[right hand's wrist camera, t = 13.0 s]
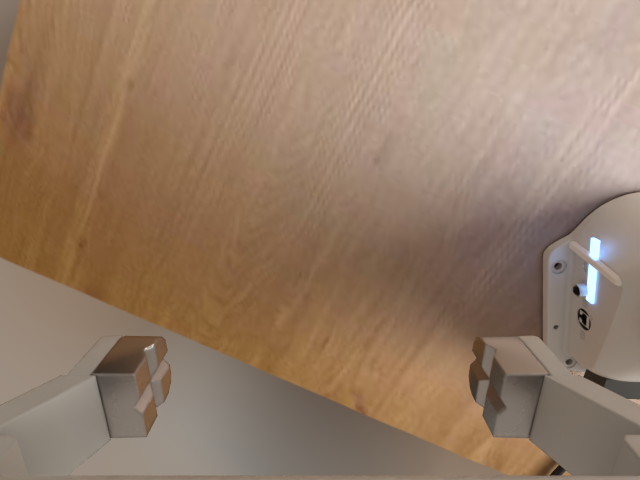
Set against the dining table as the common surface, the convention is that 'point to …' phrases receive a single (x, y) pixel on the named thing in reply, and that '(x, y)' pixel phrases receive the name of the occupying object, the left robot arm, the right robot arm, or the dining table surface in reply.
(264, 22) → the dining table surface
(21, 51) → the dining table surface
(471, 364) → the right robot arm
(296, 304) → the dining table surface
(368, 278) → the dining table surface
